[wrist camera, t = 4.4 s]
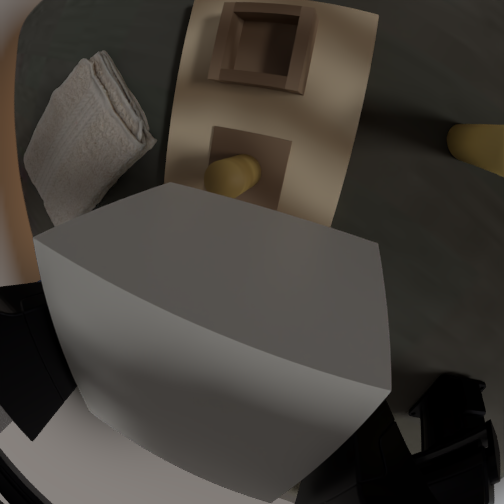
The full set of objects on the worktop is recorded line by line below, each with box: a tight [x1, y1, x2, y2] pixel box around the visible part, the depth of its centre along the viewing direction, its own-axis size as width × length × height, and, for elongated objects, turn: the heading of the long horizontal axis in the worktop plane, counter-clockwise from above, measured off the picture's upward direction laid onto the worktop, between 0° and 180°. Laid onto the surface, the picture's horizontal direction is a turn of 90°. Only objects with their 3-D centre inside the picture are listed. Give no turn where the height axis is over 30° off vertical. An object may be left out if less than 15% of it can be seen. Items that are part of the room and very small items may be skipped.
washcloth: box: [24, 50, 157, 227], centre depth 22 cm, size 12×18×3 cm, turn 125°
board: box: [164, 0, 379, 227], centre depth 15 cm, size 16×12×5 cm
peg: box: [447, 124, 504, 177], centre depth 10 cm, size 2×2×7 cm
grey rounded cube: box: [33, 182, 391, 503], centre depth 7 cm, size 6×6×5 cm
